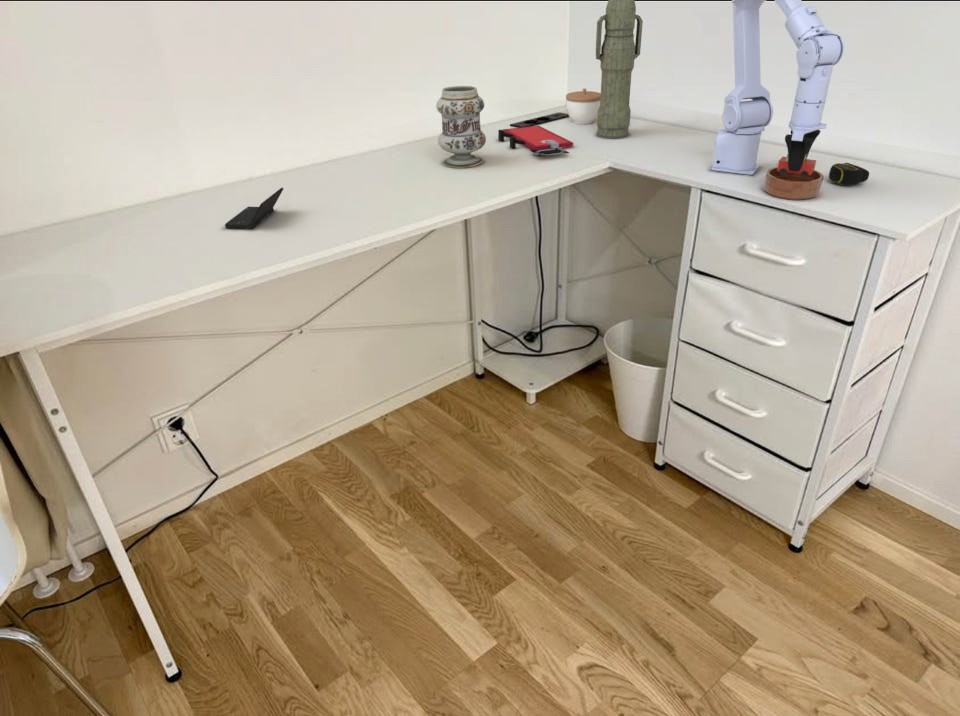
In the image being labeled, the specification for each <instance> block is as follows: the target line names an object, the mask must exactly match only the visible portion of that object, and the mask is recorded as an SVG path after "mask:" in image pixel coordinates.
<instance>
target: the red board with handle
mask: <svg viewBox="0 0 960 716" xmlns="http://www.w3.org/2000/svg"><path fill="white" fill-rule="evenodd" d="M497 136H498V137H497V139H498V141H499V142H503V143H504V142H505V138H508V139H509V148H510V149H516V146H517V145H522V146H525V147H528V148H529V151H530V152H531V153H533V154H535V155H536V156H538V157H544V156H553V155H554V156H555V155H564V154H570V151H567V150H565V149H563V148H568V147H574V142H573V141H571V140H569V139H567V138H565V137H564V136H561V135H559V134H557V133H555V132H553V131H550V130H549V129H547V128H544V127H543V126H541V125H531V126H522V127H513V128H503V129H498V135H497Z"/></svg>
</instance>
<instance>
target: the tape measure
mask: <svg viewBox="0 0 960 716" xmlns="http://www.w3.org/2000/svg"><path fill="white" fill-rule="evenodd" d="M869 177H870V171H869V170H868V169H865V168H864V167H862V166H859V165H856V164H854V163H853V164H852V163H849V162H844V163H841V162H840V163H838V162H837V163H834V164H833V165H831V167H830V169H829V173H828V179H829V180H830V181H831V182H833V183H836V184H837V185H840V186H845V185H850V186H853V185H858V184H860V183H864V182H866V181H867V180H869Z"/></svg>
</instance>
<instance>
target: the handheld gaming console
mask: <svg viewBox="0 0 960 716" xmlns="http://www.w3.org/2000/svg"><path fill="white" fill-rule="evenodd" d="M283 191H284V187H280V188H279V189H278V190H276V191H275V192H274V193H273V194H271V195H270V196H269V197H268V198H266V199H265V200H264V201H262V202H261V203H260V205H259V206H247V207H246V208H244V209H243V210H242V211H240V212H239V213H238V214H236V215H235V216H233V217H232V218H231V219H230V220H228V221H227V222H226V223H225V224H224V227H225V229H228V230H229V229H231V230H232V229H233V230H254V229H255V228H256V227H257V226H259V224H261V222H262V221H264V220H265V219H266V218H268V217H269V216H270V215H272V214H273V213H274V212H275V209H274V207H275V205H276V203H277V201H278V200H279V198H280V196H281V194H282V192H283Z"/></svg>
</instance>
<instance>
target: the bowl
mask: <svg viewBox="0 0 960 716" xmlns="http://www.w3.org/2000/svg"><path fill="white" fill-rule="evenodd" d="M777 168H778V166H775V167H771V168H768V169H767V171H765V178H764V183H763V190H764V191H765V192H767V193H768V195H771V196H773V197H776V198H779V199H785V200H793V201H795V200H796V201H798V200H799V201H800V200H809V199H811V198H815V197H817V196H819V195H820V193H821V191H822V185H823V181H824V174H823V173H822V172H820V171H818V170H815V169H814V171H813V173H812V175H808V177H806V178H803V177H801V175H800V174H796V173H787V174H786V175H781V174H780V173H779V171H777Z"/></svg>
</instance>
